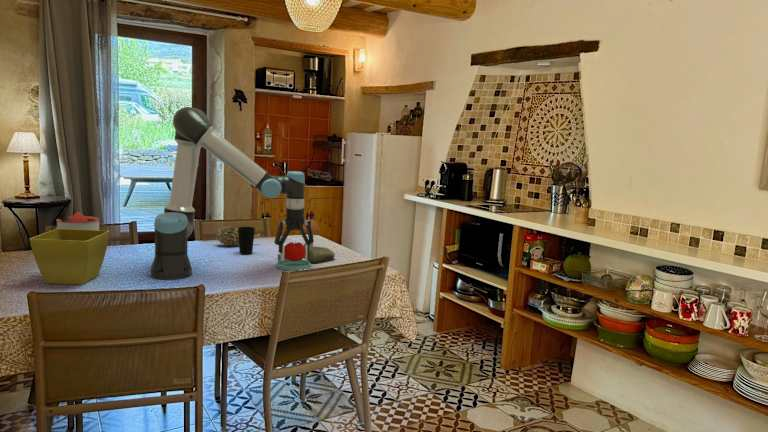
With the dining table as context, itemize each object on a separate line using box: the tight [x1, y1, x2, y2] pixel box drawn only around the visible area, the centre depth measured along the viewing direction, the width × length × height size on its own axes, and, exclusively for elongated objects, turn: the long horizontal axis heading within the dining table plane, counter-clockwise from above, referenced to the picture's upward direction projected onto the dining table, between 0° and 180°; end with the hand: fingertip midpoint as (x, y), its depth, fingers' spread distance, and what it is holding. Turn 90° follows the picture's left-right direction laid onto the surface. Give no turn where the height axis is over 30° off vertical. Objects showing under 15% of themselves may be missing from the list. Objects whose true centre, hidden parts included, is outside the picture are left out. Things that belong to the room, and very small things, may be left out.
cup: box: [237, 226, 256, 256], centre depth 245 cm, size 8×8×12 cm
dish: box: [275, 259, 312, 271], centre depth 227 cm, size 14×14×2 cm
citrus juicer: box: [55, 211, 101, 230], centre depth 218 cm, size 16×17×20 cm
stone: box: [306, 246, 336, 264], centre depth 240 cm, size 9×14×10 cm, turn 137°
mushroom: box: [303, 219, 320, 247], centre depth 262 cm, size 8×8×15 cm
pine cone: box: [215, 225, 261, 247], centre depth 261 cm, size 22×10×10 cm, turn 120°
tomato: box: [284, 241, 305, 262], centre depth 226 cm, size 9×9×8 cm
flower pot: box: [29, 228, 110, 285], centre depth 190 cm, size 19×19×17 cm
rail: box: [277, 253, 286, 261], centre depth 235 cm, size 9×1×4 cm, turn 119°
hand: (293, 259), depth 227 cm, fingers closed on tomato, 9 cm apart
